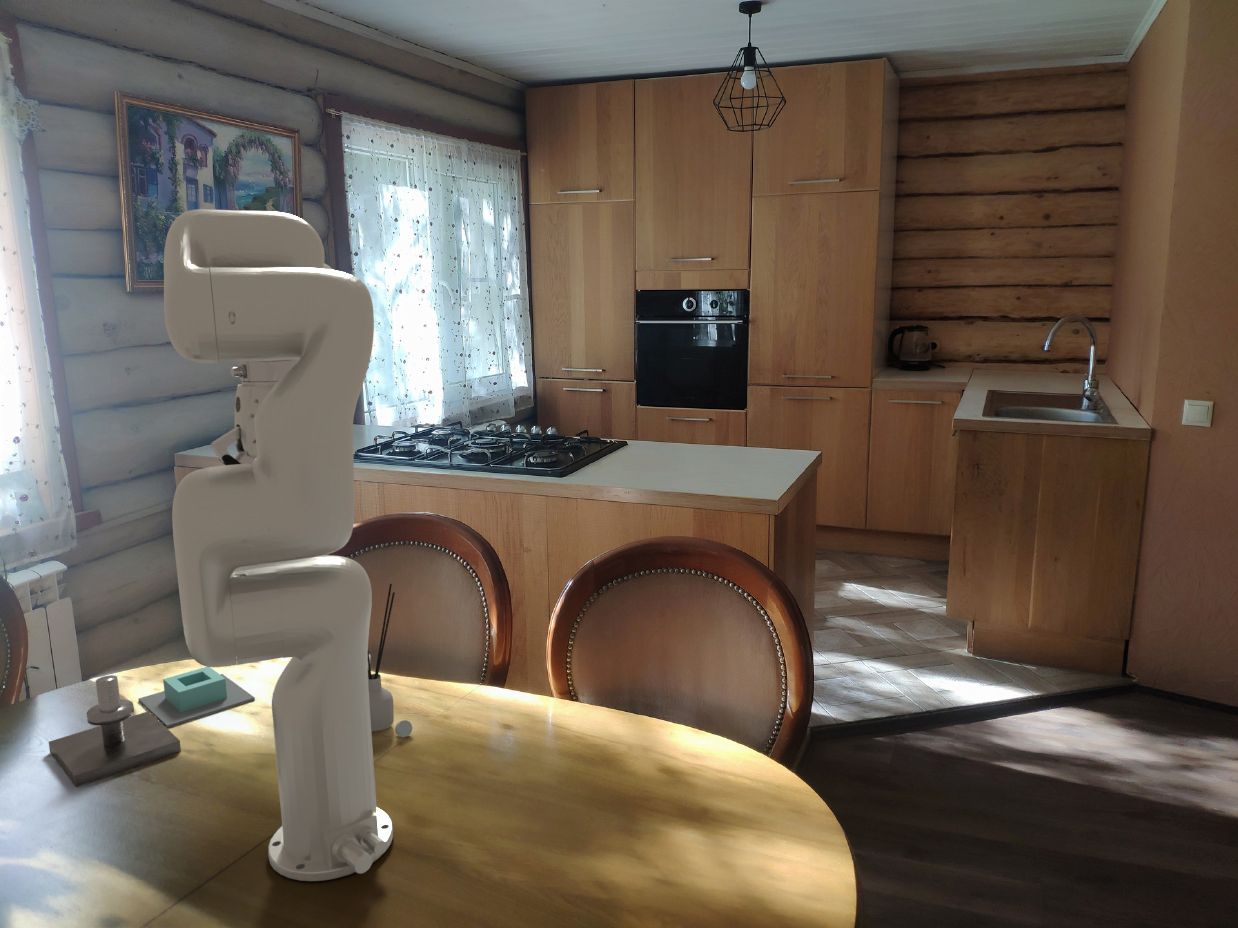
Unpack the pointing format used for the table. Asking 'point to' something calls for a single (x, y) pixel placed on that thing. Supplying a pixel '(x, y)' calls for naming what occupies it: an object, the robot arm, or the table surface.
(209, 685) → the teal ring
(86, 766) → the ring stand
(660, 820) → the table surface
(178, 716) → the slate mat
